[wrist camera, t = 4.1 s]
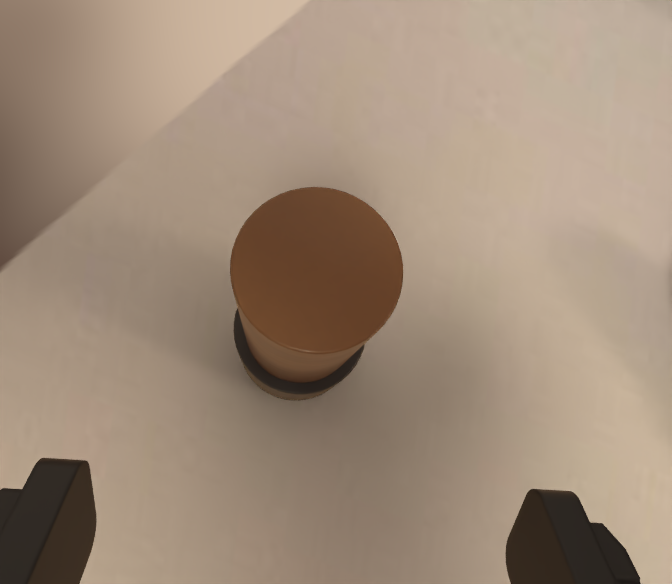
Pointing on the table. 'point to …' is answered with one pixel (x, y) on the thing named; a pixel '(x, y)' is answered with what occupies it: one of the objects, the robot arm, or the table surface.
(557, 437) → the table surface
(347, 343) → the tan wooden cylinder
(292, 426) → the table surface
